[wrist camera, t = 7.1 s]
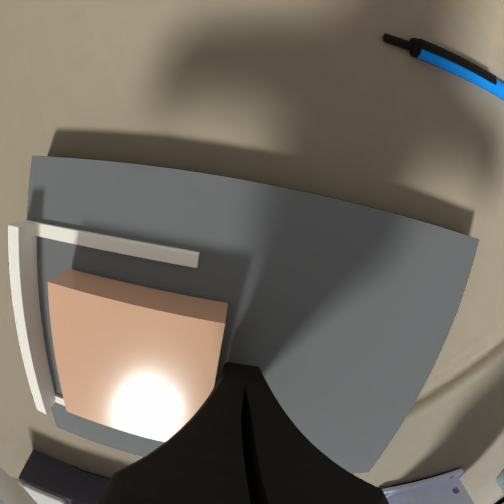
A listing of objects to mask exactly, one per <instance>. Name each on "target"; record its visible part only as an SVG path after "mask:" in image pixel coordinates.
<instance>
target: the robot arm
mask: <svg viewBox="0 0 504 504" xmlns="http://www.w3.org/2000/svg"><path fill="white" fill-rule="evenodd" d="M462 473H463V470H462V469H458V470H455V471H452V472H449V473H446V474H442V475H439V476H435V477H432V478H428V479H425V480H421V481H417V482H413V483H408V484H404V485H399V486H394V487H389V488H384V489H379V488H377V487H375V486H373V485H371V484H369V483H367V482H365V481H364V480H362V479H360V478H358V477H356V476H354V475H353V474H351V473H350V472H348V471H347V470H345V469H343V468H342V467H340V466H339V465H338V464H336V463H335V462H333V461H332V460H331V459H330V458H328V457H327V456H326V455H325V454H324V453H322V452H321V451H320V450H319V449H318V448H316V447H315V446H314V445H313V444H312V443H311V442H310V441H309V440H308V439H307V438H306V437H305V436H304V435H303V434H302V433H301V431H300V430H299V429H298V428H297V427H296V426H295V424H294V423H293V422H292V420H291V419H290V418H289V417H288V415H287V414H286V412H285V411H284V410H283V408H282V407H281V405H280V404H279V402H278V400H277V399H276V397H275V396H274V394H273V392H272V391H271V389H270V387H269V385H268V383H267V382H266V380H265V378H264V376H263V374H262V371H261V369H260V368H259V367H258V366H251V365H244V364H237V363H231V362H227V363H225V364H224V366H223V370H222V373H221V376H220V378H219V380H218V382H217V384H216V385H215V387H214V388H213V390H212V392H211V393H210V395H209V396H208V398H207V399H206V401H205V402H204V403H203V404H202V406H201V407H200V408H199V410H198V411H197V412H196V413H195V414H194V416H193V417H192V418H191V419H190V420H189V421H188V422H187V423H186V424H185V425H184V426H183V427H182V428H181V429H180V430H179V431H178V432H177V433H176V434H174V435H173V436H172V437H171V438H170V439H169V440H167V441H166V442H165V443H164V444H162V445H161V446H159V447H158V448H157V449H155V450H154V451H152V452H151V453H149V454H148V455H147V456H145V457H143V458H142V459H140V460H138V461H136V462H135V463H133V464H131V465H129V466H127V467H125V468H123V469H121V470H119V471H117V472H116V473H115V474H114V475H113V476H112V478H111V479H110V480H109V481H108V483H107V484H106V486H105V487H104V488H103V490H102V492H101V494H100V495H99V497H98V499H97V502H96V504H474V503H473V501H472V499H471V498H470V496H469V494H468V492H467V491H466V489H465V487H464V486H463V484H462V482H461V481H460V479H459V477H460V475H461V474H462ZM0 504H6V503H4V502H3V501H1V500H0ZM502 504H504V503H502Z"/></svg>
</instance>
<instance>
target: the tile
mask: <svg viewBox="0 0 504 504" xmlns="http://www.w3.org/2000/svg"><path fill="white" fill-rule="evenodd" d="M48 299H49V312H50V322H51V331H52V339H53V346H54V352H55V359H56V364H57V370H58V375H59V380H60V385H61V390H62V394H63V399H64V403H65V407H66V411H67V412H70V413H72V414H75V415H78V416H80V417H83V418H85V419H88V420H91V421H94V422H97V423H100V424H102V425H105V426H108V427H112V428H115V429H118V430H121V431H125V432H128V433H131V434H135V435H139V436H142V437H146V438H150V439H154V440H158V441H162V442H166V441H167V440H169V439H170V438H171V437H172V436H173V435H174V434H176V433H177V432H178V431H179V430H180V429H181V428H182V427H183V426H184V425H185V424H186V423H187V422H188V421H189V420H190V419H191V418H192V417H193V416H194V414H195V413H196V412H197V411H198V410H199V408H200V407H201V406H202V404H203V403H204V402H205V401H206V399H207V398H208V396H209V395H210V393H211V392H212V390H213V388H214V384H215V378H216V373H217V367H218V361H219V356H220V350H221V344H222V339H223V333H224V327H225V321H226V314H227V306H228V303H225V302H219V301H214V300H208V299H203V298H198V297H193V296H187V295H182V294H177V293H173V292H168V291H163V290H158V289H153V288H149V287H144V286H140V285H135V284H131V283H126V282H122V281H117V280H113V279H109V278H105V277H101V276H96V275H92V274H88V273H84V272H80V271H76V270H72V269H68V270H66V271H65V272H63V273H61V274H59V275H58V276H56V277H55V278H53V279H51V280H50V281H48Z"/></svg>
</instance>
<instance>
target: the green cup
mask: <svg viewBox="0 0 504 504" xmlns="http://www.w3.org/2000/svg"><path fill="white" fill-rule="evenodd" d="M497 483H498V485H499V487H500V488H501V490H502V492H503V494H504V469H503V471H502V472H501V473H500V474H499V476H498V477H497Z"/></svg>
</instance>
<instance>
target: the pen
mask: <svg viewBox="0 0 504 504" xmlns="http://www.w3.org/2000/svg"><path fill="white" fill-rule="evenodd" d="M383 40H384V42H388V43H391V44H393V45H396V46H399V47H402V48H405V49H408V50H410V55H411V56H413V57H416V58H418V59H421V60H423V61H426V62H428V63H431V64H433V65H436V66H438V67H440V68H443V69H445V70H447V71H449V72H452V73H454V74H456V75H458V76H460V77H462V78H464V79H466V80H468V81H470V82H472V83H474V84H476V85H478V86H480V87H482V88H484V89H485V90H487V91H489V92H491V93H493V94H494V95H496V96H498V97H499V98H501V99H503V100H504V83H503V82H501V81H499V80H498V79H496V76H494V75H492V74H491V73H489V72H487V71H486V70H484V69H482V68H480V67H479V66H477V65H475V64H473V63H471V62H469V61H468V60H466V59H464V58H462V57H460V56H458V55H456V54H454V53H452V52H450V51H447V50H445V49H443V48H441V47H439V46H436V45H434V44H432V43H430V42H427V41H425V40H422V39H418V38H417V39H416V38H411V39H410V40H409V41H407V40H404V39H401V38H398V37H395V36H392V35H389V34H386V33H385V34H384V36H383Z"/></svg>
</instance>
